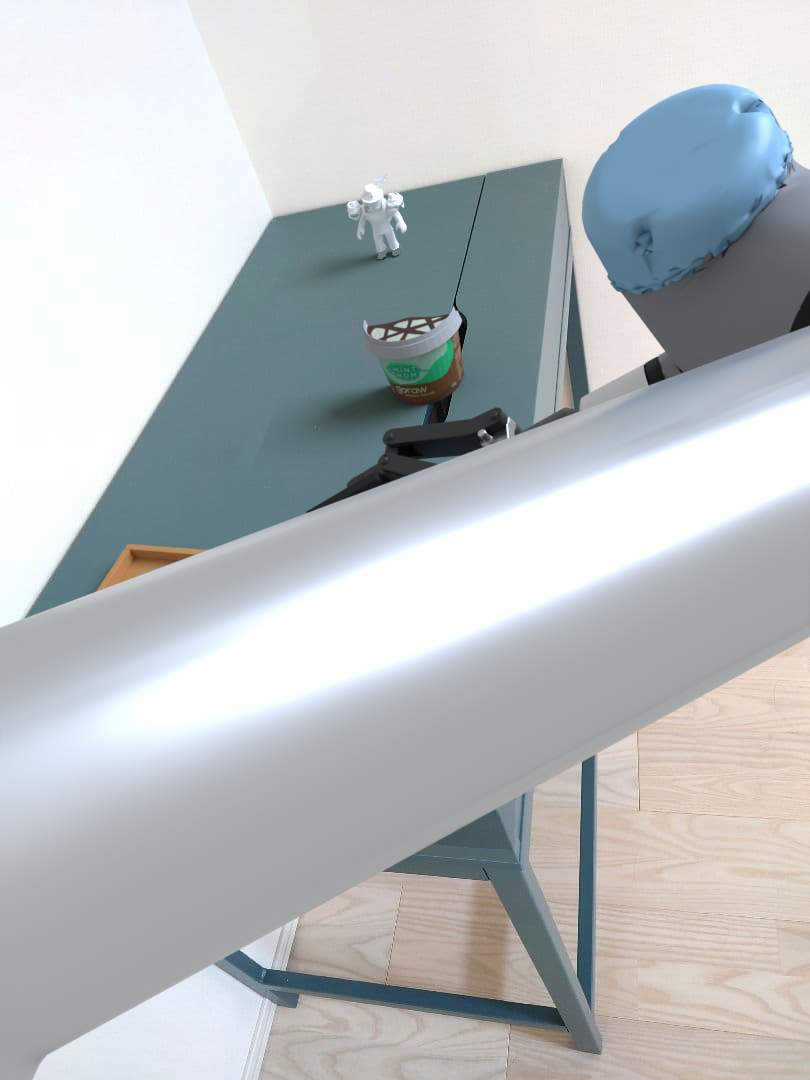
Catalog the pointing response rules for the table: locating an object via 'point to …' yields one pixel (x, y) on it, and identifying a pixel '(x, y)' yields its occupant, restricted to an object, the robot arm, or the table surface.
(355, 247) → the table surface
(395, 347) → the food container
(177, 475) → the table surface
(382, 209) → the blocky character figurine
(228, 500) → the table surface
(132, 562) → the serving tray
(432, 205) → the table surface
